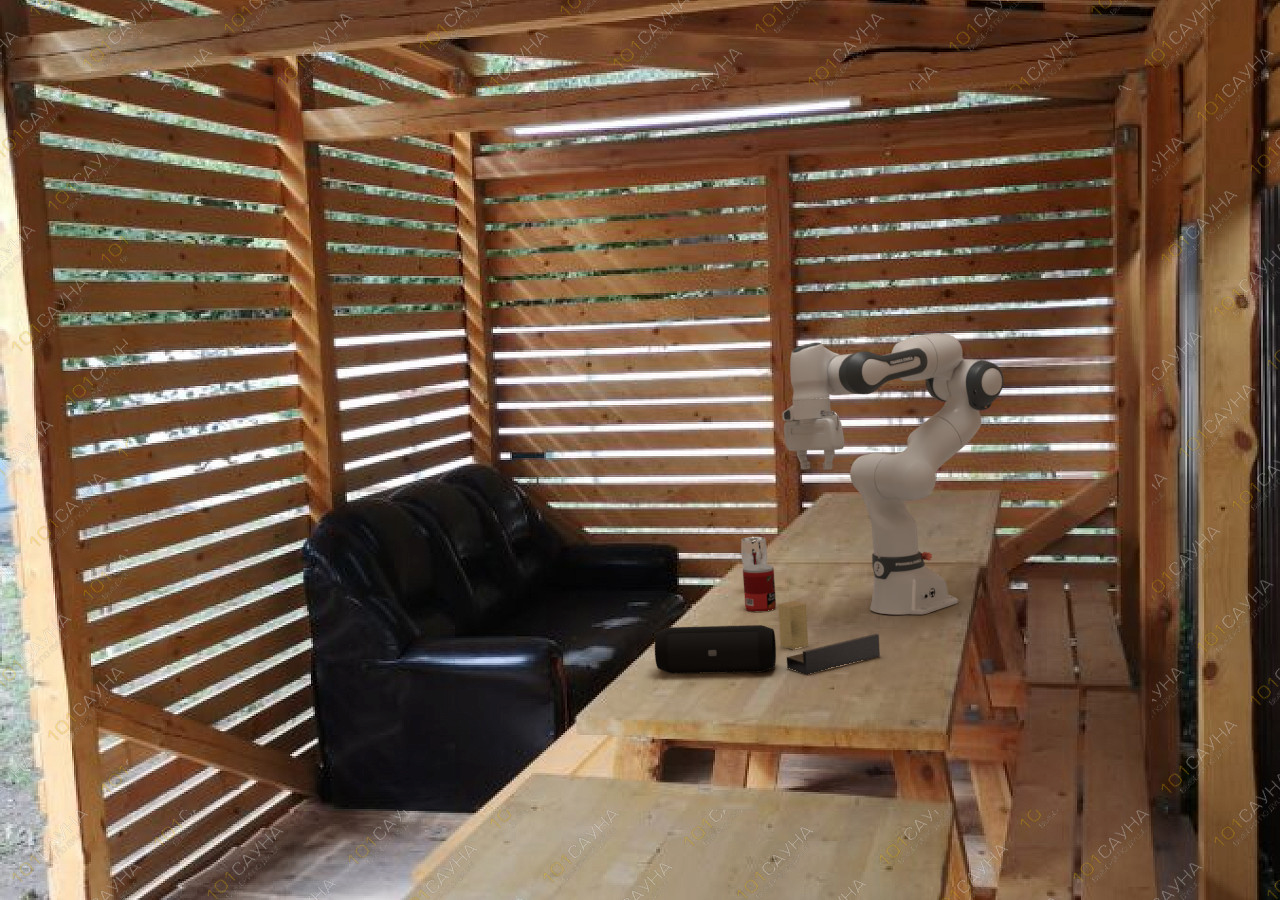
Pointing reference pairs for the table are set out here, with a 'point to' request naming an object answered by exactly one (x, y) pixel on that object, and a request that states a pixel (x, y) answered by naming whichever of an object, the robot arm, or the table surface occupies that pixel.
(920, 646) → the table surface
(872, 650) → the rail
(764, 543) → the beer glass
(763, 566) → the canned food
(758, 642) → the portable speaker
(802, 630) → the wooden block
